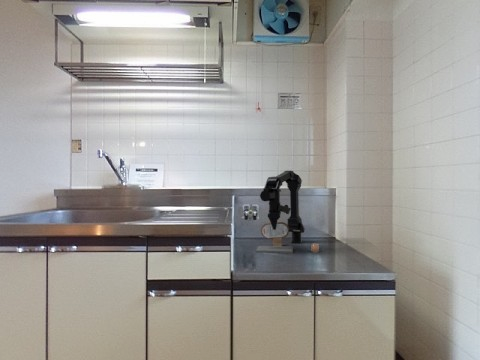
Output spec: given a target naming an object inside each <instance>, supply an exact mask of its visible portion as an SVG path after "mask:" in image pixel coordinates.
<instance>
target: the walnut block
mask: <svg viewBox="0 0 480 360" xmlns="http://www.w3.org/2000/svg"><path fill="white" fill-rule="evenodd" d="M272 246H283V238H272Z"/></svg>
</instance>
